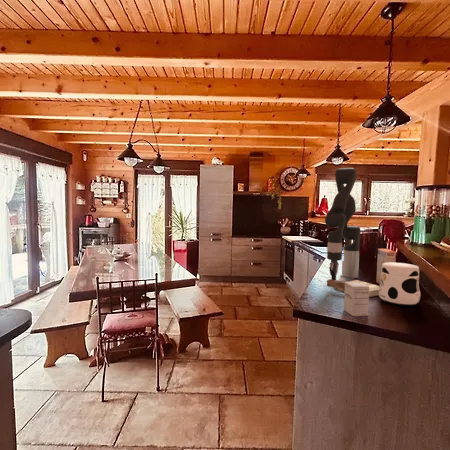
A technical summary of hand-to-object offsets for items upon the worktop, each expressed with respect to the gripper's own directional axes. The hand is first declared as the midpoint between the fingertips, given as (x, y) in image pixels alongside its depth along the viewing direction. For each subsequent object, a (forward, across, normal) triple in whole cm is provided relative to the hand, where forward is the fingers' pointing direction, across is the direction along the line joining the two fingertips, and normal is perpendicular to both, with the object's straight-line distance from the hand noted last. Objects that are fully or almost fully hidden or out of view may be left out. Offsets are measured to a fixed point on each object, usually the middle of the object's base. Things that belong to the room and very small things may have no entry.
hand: (333, 282), depth 163 cm
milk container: (+5, +5, +31) cm, 32 cm away
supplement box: (+4, +32, +15) cm, 35 cm away
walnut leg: (+1, +4, +6) cm, 7 cm away
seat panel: (+5, -6, +12) cm, 15 cm away
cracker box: (+5, -28, +24) cm, 37 cm away
